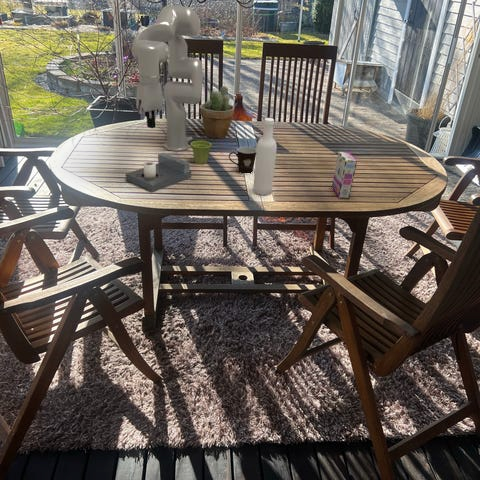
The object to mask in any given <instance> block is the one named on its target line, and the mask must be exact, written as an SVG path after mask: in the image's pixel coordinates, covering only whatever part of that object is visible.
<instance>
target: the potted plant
mask: <svg viewBox="0 0 480 480" xmlns="http://www.w3.org/2000/svg"><path fill="white" fill-rule="evenodd" d="M228 93H229V89H228V87H227V86H223V85H222V86H221V87H220V89H219V91H218V90H213V91H211V93H210V100H207V101H206V102H204V103H202V104H200V105H199V113H200V114H199V115H200V116H201V119H202V120H201V121H202V125H203V129H204V134H205V136H206V137H207V136H208V138H210V137H211V138H210V139H223V137H224V138H226V137H227V134H228V132H229V129H230V126H231V124H232V120H233V117H234V114H235V113H234V112H235V106H234V105H232V104H229V103H230V99H231V98H230V95H229V94H228ZM225 136H226V137H225Z"/></svg>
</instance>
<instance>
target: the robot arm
mask: <svg viewBox="0 0 480 480" xmlns="http://www.w3.org/2000/svg"><path fill="white" fill-rule="evenodd" d="M201 27H202V26H201V21H200V17H199V16H198V14H197V13H196V11H195V10H194V9H192V7H189V6H182V5H172V4H171V5H165V6H163V7H162V8H161V10H160V12H159V14H158V16H157V18H156V21H155V22H154V23H153V24H150V25H148V26H145V27H144V28H143V29H141V30H139V31H138V32H137V33H136V35H135V37H134V39H133V42H132V44H131V55H132V57H133V59H135V60H136V61H138V62H137V63H138V80H139V81H138V82H139V83H137V86H136V95H135V96H136V97H135V98H136V99H135V103H136V109H137V110H138V111H139V112H138V114H139V115H141V116H144V117H145V118H146V127H147V128H149V129H155V128H156V118H157V115H158V113H159V112H160V111H162V110H163V109H162V108H163V105H164V100H163V99H165V110H166V112H165V114H166V117H165V118H166V142H164V143H163V148H164V149H166V150H168V151H173V152H182V151H187V150H188V149H190V144H189V142H190V141H192V140H193V137H192V136H187V111H186V108H185V106H184V105H183V104H188V105H198V104H200V102H201V99H202V93H203V76H204V75H203V70H204V67H203V63H202V61H201V60H200V59H199V58H197V57H188V44H187V42H186V40H185V38H184V37H186V36H187V37H197V36H198V35H199V34H200V32H201ZM166 62H167V63H168V64H167V65H168V66H167V67H168V68H167V70H168V71H167V72H168V75H169V76H170V78H174V79H179V80H181V79H182V80H190V81H191V82H186V81H185V82H184V81H179V80H178V81H176V80H175V81H174V80H173V81H172V80H171V81H167V83H165V84H164V88H163V90H162V84H161V81H160V79H161V78H162V77H161V75H160V64H165V63H166ZM163 95H164V97H163Z"/></svg>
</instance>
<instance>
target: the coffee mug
mask: <svg viewBox="0 0 480 480" xmlns="http://www.w3.org/2000/svg"><path fill="white" fill-rule="evenodd" d="M256 150H257V148H254V147H250V146H240V147H238V148H237V152H235V151H233V152H230V153H228V160H230V162H231V163H232V164H234V165H236V166H237V168H238V169H237V170H239V171H238V173H240V172H241V173H240V174H243V173H250V174H252V173H253V172H252V171H253V170H254V168H255V162H256ZM231 155H235V156H236V157H237V162H235V161H234V160H232V159H231V157H230V156H231ZM251 172H252V173H251Z"/></svg>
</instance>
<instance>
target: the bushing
mask: <svg viewBox="0 0 480 480" xmlns="http://www.w3.org/2000/svg"><path fill="white" fill-rule="evenodd" d="M156 164H157V163H155V162H154V161H146V162H144V163H143V168H144V178H145V179H154V178H156Z"/></svg>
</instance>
